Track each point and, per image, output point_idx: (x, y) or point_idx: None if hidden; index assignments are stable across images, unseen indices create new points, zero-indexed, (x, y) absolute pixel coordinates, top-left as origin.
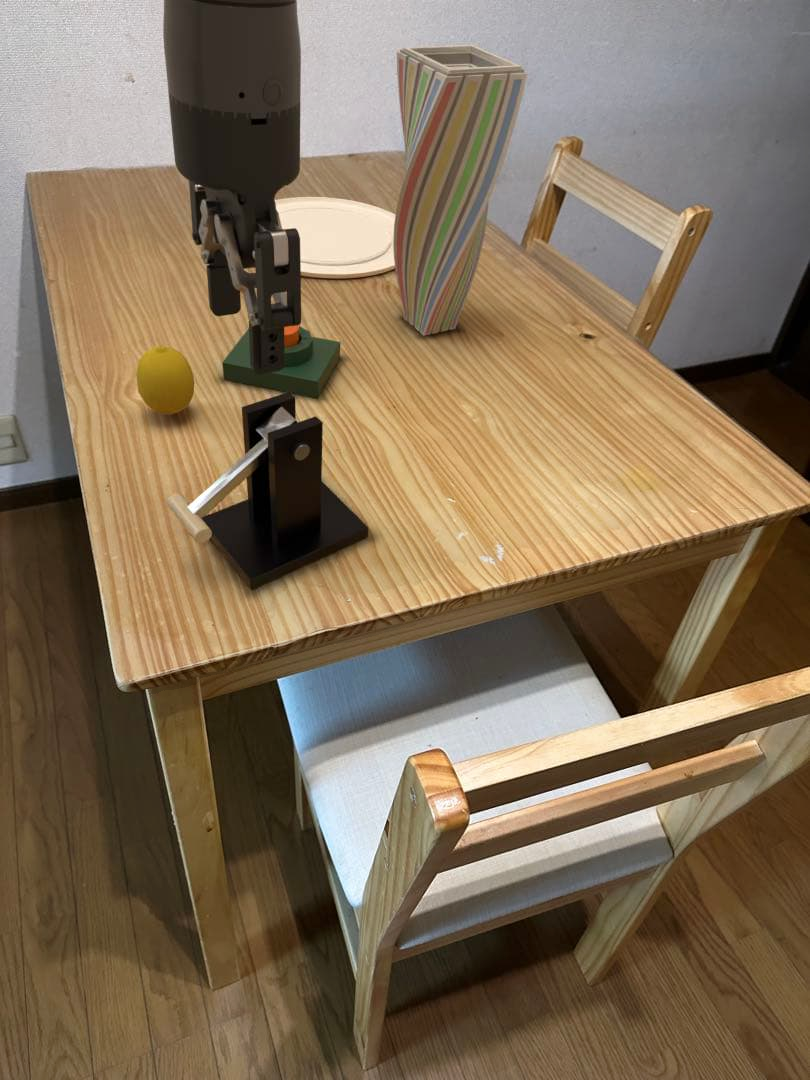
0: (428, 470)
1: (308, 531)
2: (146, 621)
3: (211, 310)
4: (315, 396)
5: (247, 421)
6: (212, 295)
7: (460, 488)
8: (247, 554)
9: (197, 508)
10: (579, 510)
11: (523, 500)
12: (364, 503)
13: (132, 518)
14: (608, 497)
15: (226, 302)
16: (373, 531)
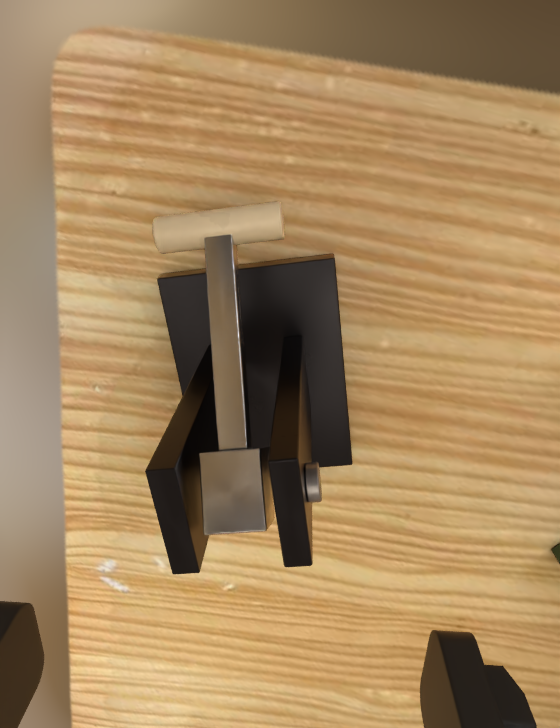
0: (299, 594)
1: None
2: (157, 90)
3: (453, 638)
4: (555, 548)
5: (270, 446)
6: (457, 711)
7: (245, 607)
8: None
9: (209, 250)
10: (148, 689)
11: (191, 652)
12: None
13: (417, 147)
14: (157, 723)
15: (437, 708)
16: None
